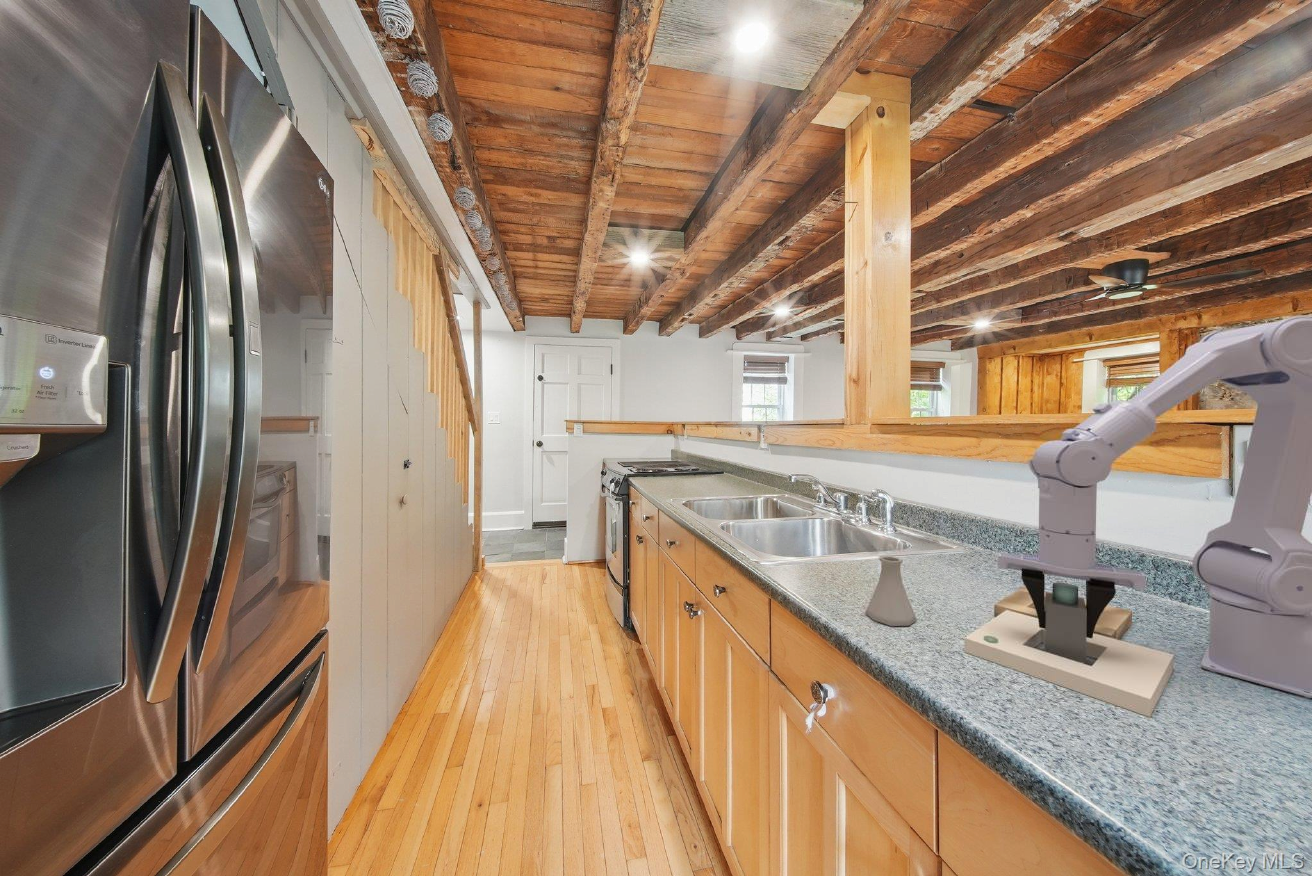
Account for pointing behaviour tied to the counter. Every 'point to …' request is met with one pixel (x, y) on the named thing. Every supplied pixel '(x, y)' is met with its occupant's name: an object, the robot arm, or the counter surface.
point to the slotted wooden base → (1110, 620)
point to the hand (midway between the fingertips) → (1064, 630)
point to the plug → (1065, 622)
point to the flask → (890, 596)
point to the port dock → (1113, 678)
